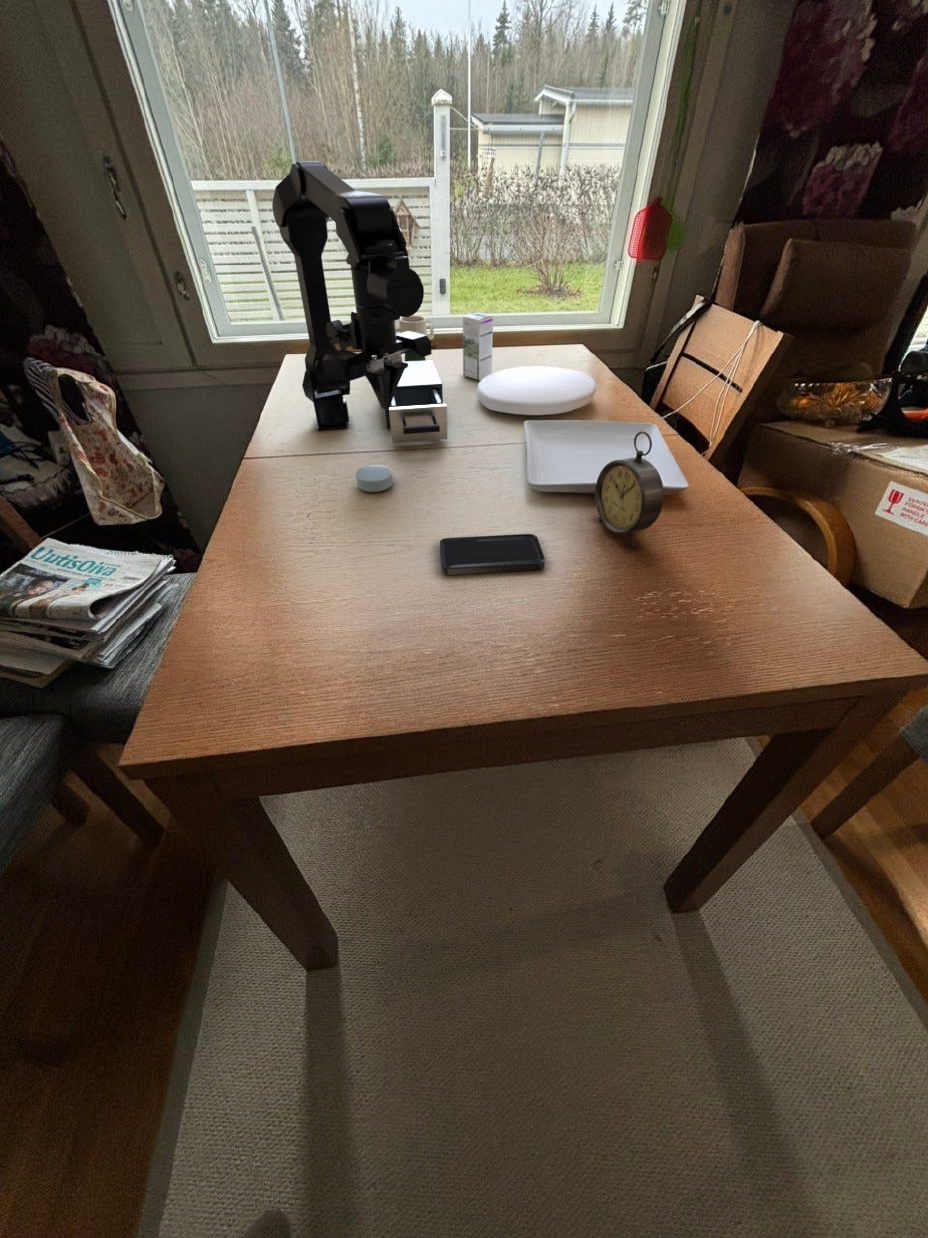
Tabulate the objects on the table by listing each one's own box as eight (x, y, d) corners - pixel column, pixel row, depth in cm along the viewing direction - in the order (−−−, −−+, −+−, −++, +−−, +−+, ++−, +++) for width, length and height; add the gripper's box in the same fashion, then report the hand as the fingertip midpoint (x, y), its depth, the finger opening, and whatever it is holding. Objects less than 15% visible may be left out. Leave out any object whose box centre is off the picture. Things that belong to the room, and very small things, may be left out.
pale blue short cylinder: (358, 496, 89) (356, 482, 87) (357, 479, 93) (355, 466, 91) (394, 493, 89) (393, 479, 88) (391, 476, 94) (390, 463, 92)
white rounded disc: (471, 399, 110) (480, 362, 129) (474, 428, 114) (482, 389, 134) (603, 389, 106) (592, 353, 125) (600, 420, 110) (590, 380, 130)
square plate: (521, 436, 107) (523, 417, 105) (651, 439, 106) (656, 421, 103) (526, 500, 87) (528, 480, 85) (685, 505, 86) (692, 485, 84)
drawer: (451, 449, 100) (450, 415, 96) (394, 453, 99) (390, 419, 94) (437, 411, 115) (436, 379, 110) (387, 414, 114) (384, 382, 109)
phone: (546, 563, 72) (442, 568, 71) (545, 569, 73) (442, 575, 72) (535, 533, 78) (439, 537, 77) (535, 539, 79) (439, 543, 78)
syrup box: (492, 375, 136) (494, 314, 126) (478, 381, 132) (479, 318, 123) (476, 371, 138) (477, 310, 128) (462, 376, 135) (461, 315, 125)
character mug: (431, 366, 141) (429, 313, 133) (438, 374, 136) (436, 320, 128) (393, 370, 139) (388, 316, 130) (399, 378, 134) (394, 323, 125)
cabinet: (443, 424, 112) (442, 383, 106) (386, 428, 110) (382, 387, 104) (433, 397, 124) (432, 359, 118) (382, 400, 122) (378, 362, 116)
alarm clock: (587, 518, 83) (606, 421, 72) (613, 511, 85) (636, 415, 74) (628, 554, 76) (657, 451, 65) (657, 545, 78) (689, 444, 67)
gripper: (383, 287, 85) (392, 384, 96) (291, 306, 75) (312, 412, 85) (431, 296, 80) (435, 398, 90) (338, 318, 69) (355, 430, 80)
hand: (385, 408), depth 87 cm, fingers closed
